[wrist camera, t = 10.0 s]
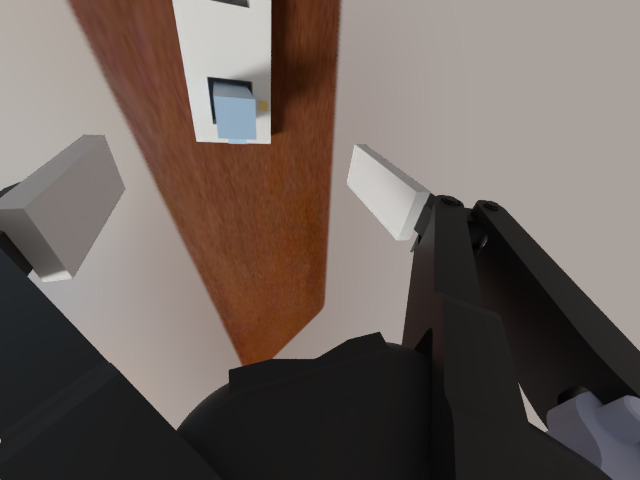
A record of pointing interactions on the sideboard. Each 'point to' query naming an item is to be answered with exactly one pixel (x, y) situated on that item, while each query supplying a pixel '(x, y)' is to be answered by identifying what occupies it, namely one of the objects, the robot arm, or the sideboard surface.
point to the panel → (226, 58)
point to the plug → (234, 112)
